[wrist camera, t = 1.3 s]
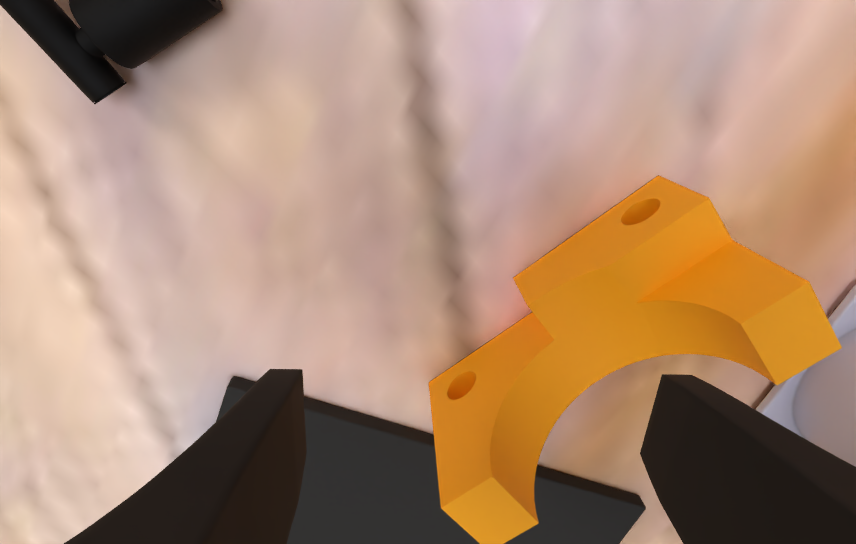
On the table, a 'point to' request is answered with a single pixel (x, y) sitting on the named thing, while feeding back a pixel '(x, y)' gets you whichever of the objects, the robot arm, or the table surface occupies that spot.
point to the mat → (420, 488)
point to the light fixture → (107, 34)
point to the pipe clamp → (610, 341)
